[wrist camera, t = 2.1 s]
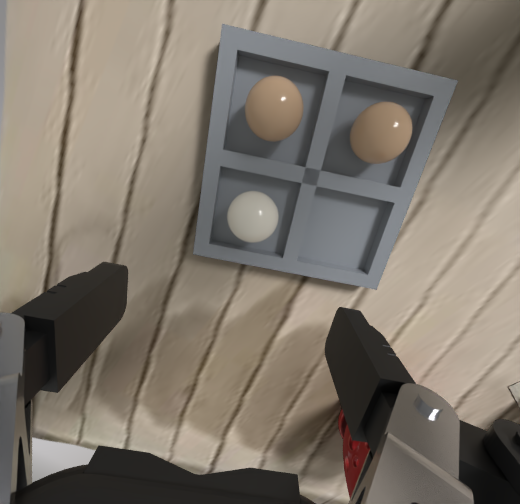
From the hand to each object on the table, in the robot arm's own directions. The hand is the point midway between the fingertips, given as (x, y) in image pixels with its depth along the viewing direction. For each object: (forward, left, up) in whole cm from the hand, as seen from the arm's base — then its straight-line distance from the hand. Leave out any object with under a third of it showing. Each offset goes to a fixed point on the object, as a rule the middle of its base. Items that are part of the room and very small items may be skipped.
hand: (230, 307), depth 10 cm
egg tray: (-5, -5, -21) cm, 22 cm away
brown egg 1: (0, -9, -17) cm, 19 cm away
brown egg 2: (-10, -9, -17) cm, 22 cm away
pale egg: (0, 0, -17) cm, 17 cm away
